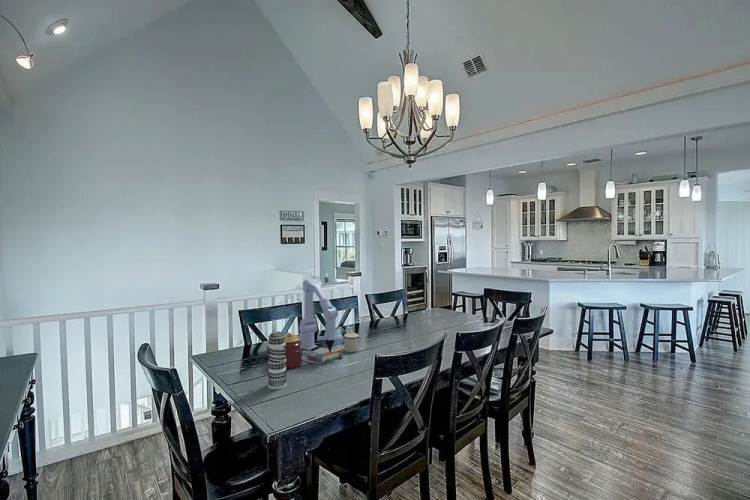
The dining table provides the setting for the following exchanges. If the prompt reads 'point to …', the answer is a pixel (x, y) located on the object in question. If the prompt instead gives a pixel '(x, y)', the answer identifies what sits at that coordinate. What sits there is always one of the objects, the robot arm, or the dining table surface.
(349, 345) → the teacup with lid
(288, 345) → the canister
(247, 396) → the dining table surface
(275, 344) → the decorative candle
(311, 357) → the base plate
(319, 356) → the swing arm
